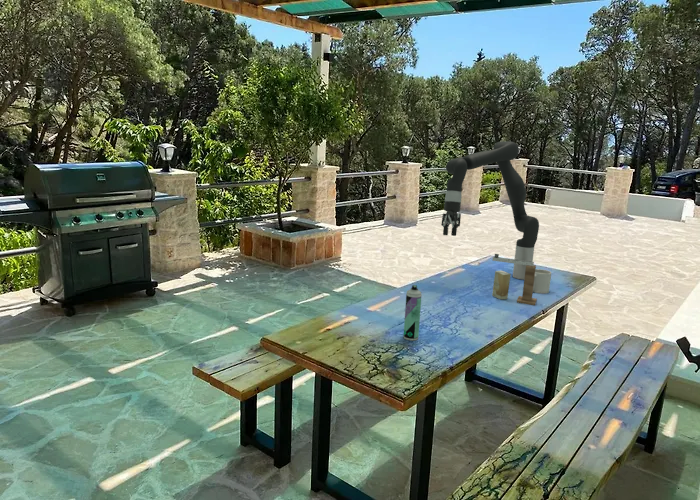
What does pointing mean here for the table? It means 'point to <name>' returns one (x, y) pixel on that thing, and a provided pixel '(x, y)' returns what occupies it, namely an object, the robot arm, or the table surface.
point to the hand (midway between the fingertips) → (449, 235)
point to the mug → (542, 281)
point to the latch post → (528, 286)
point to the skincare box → (501, 285)
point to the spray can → (412, 314)
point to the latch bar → (512, 260)
